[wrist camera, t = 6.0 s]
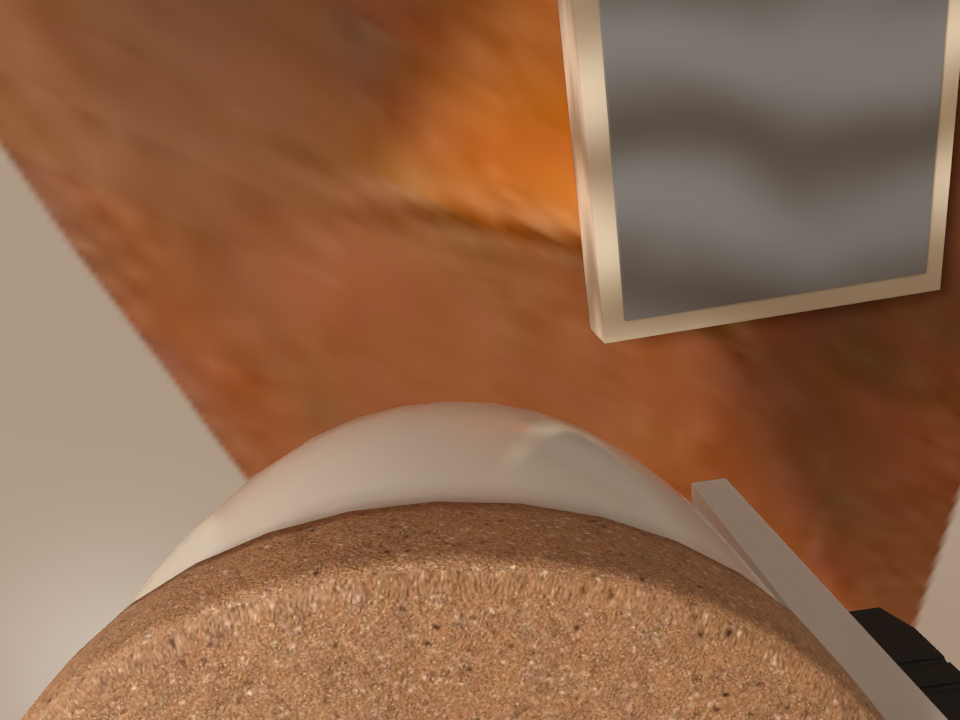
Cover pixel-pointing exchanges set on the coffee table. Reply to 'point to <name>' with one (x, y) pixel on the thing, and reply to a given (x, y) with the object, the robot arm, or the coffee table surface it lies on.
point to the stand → (757, 155)
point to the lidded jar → (455, 593)
